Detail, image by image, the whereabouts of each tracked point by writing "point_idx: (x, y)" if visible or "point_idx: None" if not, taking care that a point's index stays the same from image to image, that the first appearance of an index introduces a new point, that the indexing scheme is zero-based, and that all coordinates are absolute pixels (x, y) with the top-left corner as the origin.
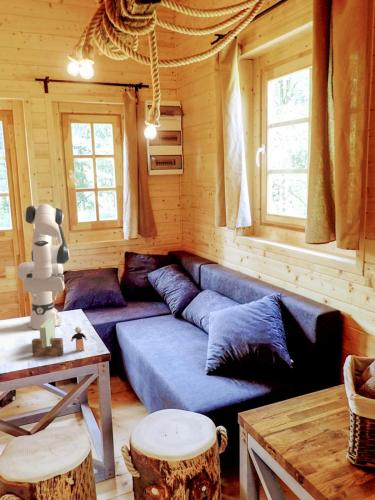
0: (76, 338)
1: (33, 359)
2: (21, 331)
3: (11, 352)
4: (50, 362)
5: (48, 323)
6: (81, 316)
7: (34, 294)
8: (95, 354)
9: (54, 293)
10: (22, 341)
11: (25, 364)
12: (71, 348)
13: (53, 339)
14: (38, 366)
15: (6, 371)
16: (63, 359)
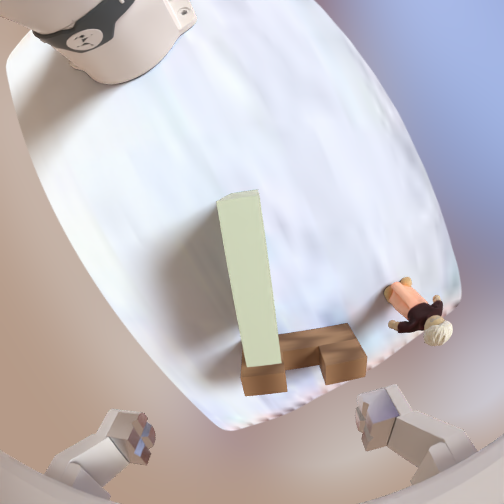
0: (411, 321)
1: None
2: (67, 118)
3: (149, 328)
4: None
5: (267, 299)
6: None
7: (93, 461)
8: None
9: (412, 477)
10: (119, 221)
11: (254, 401)
12: (363, 275)
13: (333, 376)
14: (299, 406)
15: (226, 429)
16: None
